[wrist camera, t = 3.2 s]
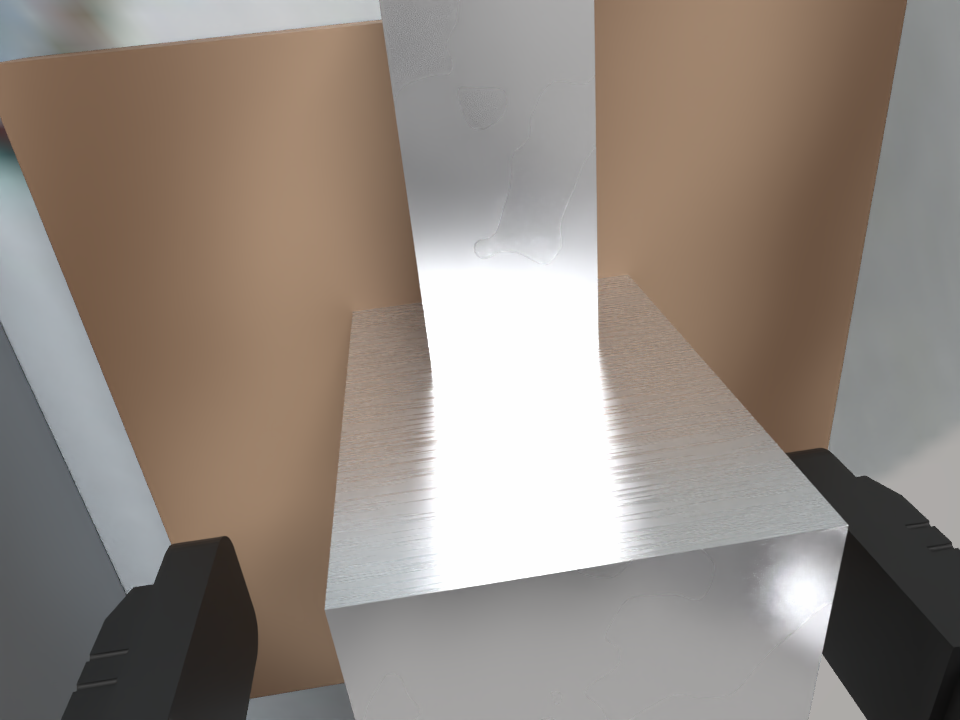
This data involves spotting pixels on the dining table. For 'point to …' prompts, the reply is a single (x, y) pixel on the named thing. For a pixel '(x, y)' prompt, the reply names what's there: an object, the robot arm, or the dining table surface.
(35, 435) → the bin
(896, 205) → the dining table surface
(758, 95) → the stud base
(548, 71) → the strut
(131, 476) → the dining table surface
